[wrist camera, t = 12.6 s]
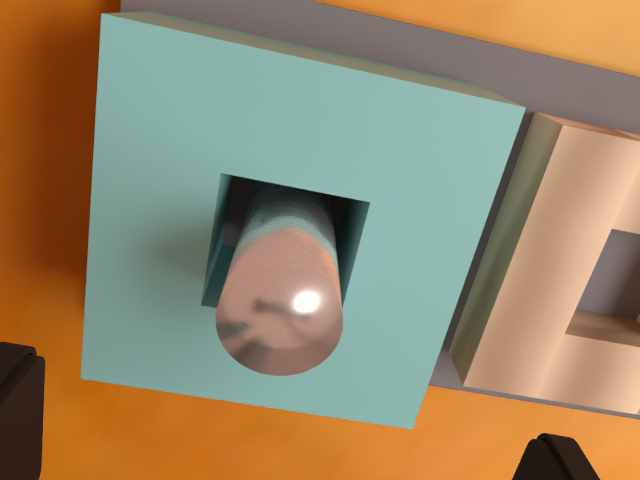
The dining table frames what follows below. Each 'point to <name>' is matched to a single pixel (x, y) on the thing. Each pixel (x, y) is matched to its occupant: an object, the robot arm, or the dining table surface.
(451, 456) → the dining table surface
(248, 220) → the steel pin
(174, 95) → the teal dock
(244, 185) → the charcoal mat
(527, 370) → the ash mount
